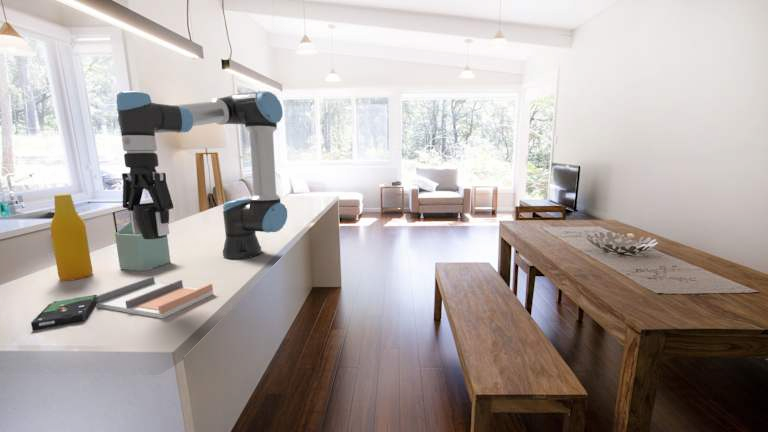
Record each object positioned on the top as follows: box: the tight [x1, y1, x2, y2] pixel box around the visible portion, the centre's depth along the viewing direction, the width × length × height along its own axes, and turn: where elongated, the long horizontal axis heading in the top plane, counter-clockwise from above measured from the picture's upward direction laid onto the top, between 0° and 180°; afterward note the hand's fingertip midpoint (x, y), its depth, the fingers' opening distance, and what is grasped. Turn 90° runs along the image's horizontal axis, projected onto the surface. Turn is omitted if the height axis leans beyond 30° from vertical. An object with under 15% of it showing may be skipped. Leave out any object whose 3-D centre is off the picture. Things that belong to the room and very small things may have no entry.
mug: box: [133, 201, 170, 239], centre depth 100 cm, size 8×12×10 cm
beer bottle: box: [50, 193, 93, 282], centre depth 125 cm, size 9×9×29 cm
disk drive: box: [30, 294, 98, 332], centre depth 96 cm, size 10×3×15 cm
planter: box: [114, 221, 171, 272], centre depth 134 cm, size 16×8×20 cm, turn 117°
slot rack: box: [95, 276, 214, 319], centre depth 104 cm, size 17×24×3 cm
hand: (151, 233), depth 101 cm, fingers closed on mug, 9 cm apart
